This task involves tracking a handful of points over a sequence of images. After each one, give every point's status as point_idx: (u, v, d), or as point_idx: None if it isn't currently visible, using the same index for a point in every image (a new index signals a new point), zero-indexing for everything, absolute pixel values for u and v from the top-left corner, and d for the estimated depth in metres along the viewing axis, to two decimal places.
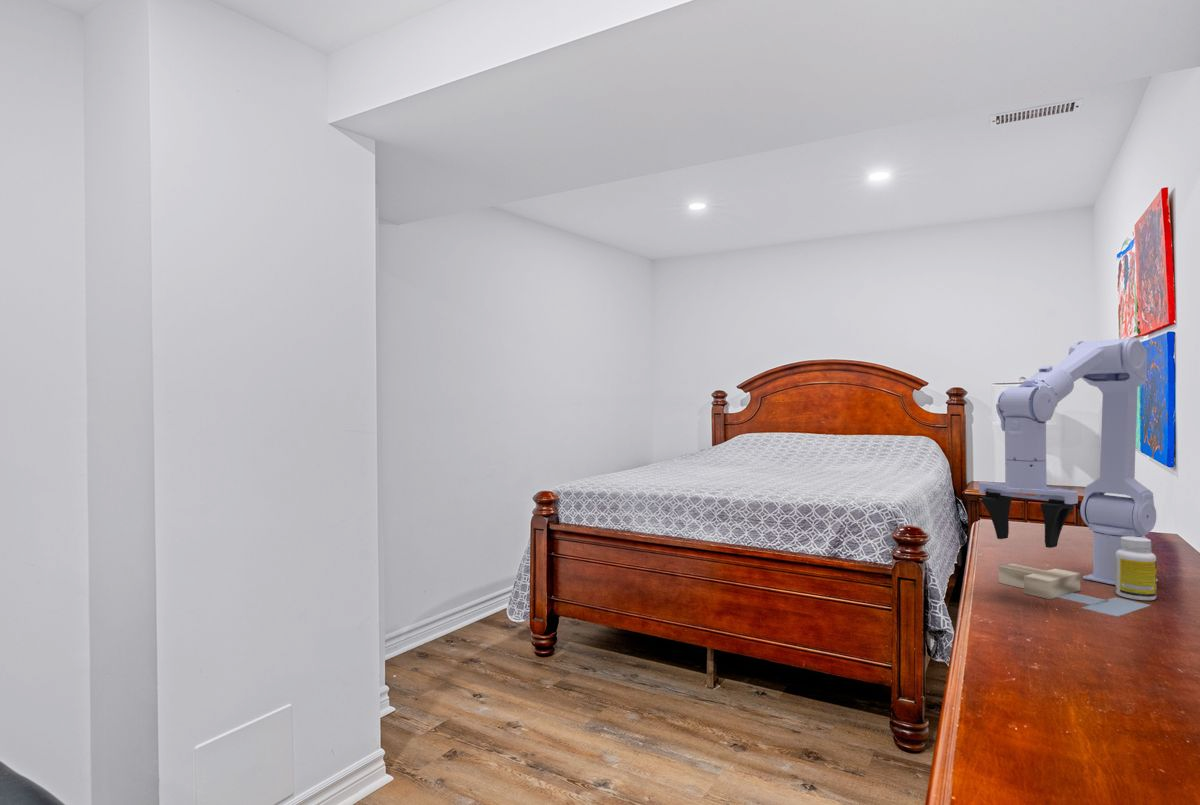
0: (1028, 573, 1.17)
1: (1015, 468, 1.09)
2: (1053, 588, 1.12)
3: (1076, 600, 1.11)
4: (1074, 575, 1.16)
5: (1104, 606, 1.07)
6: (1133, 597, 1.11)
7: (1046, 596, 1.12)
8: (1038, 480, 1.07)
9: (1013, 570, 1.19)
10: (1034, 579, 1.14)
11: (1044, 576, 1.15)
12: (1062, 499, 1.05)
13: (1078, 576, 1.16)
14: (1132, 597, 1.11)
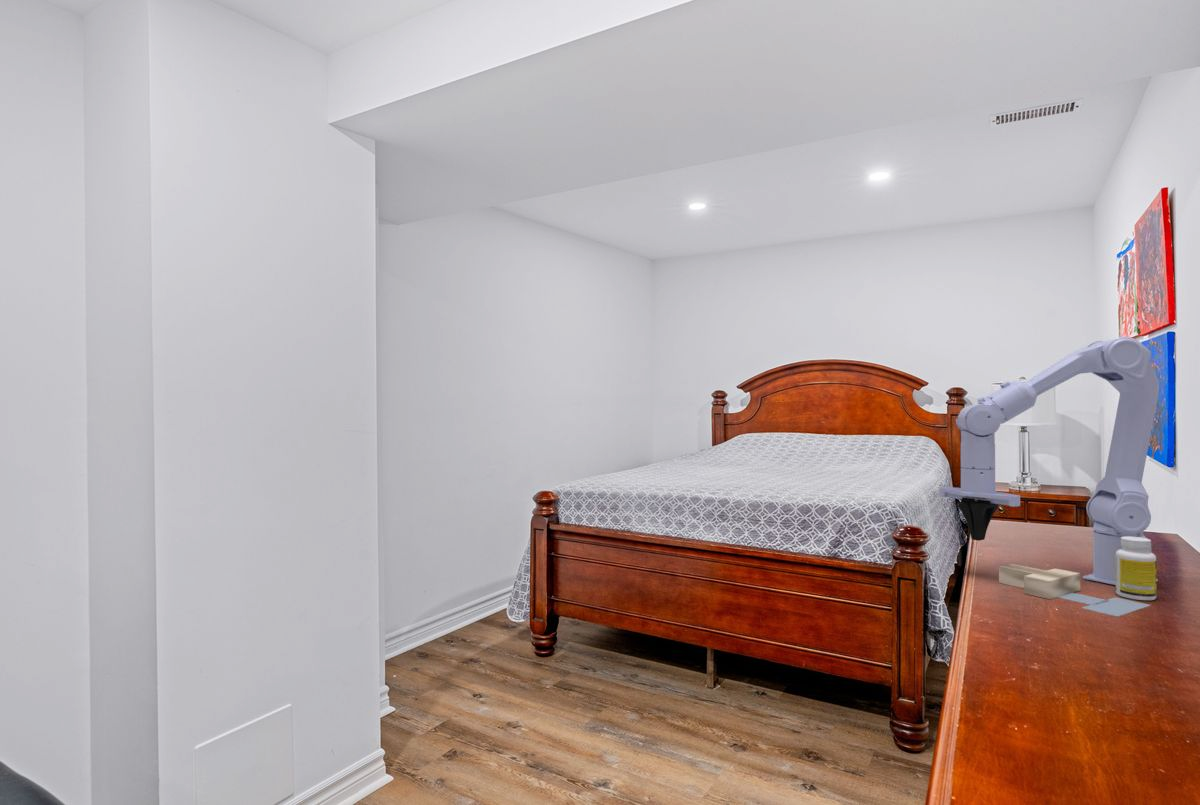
0: (1028, 573, 1.17)
1: (968, 475, 1.26)
2: (1053, 588, 1.12)
3: (1076, 600, 1.11)
4: (1074, 575, 1.16)
5: (1104, 606, 1.07)
6: (1133, 597, 1.11)
7: (1046, 596, 1.12)
8: (987, 486, 1.24)
9: (1013, 570, 1.19)
10: (1034, 579, 1.14)
11: (1044, 576, 1.15)
12: (1007, 502, 1.22)
13: (1078, 576, 1.16)
14: (1132, 597, 1.11)
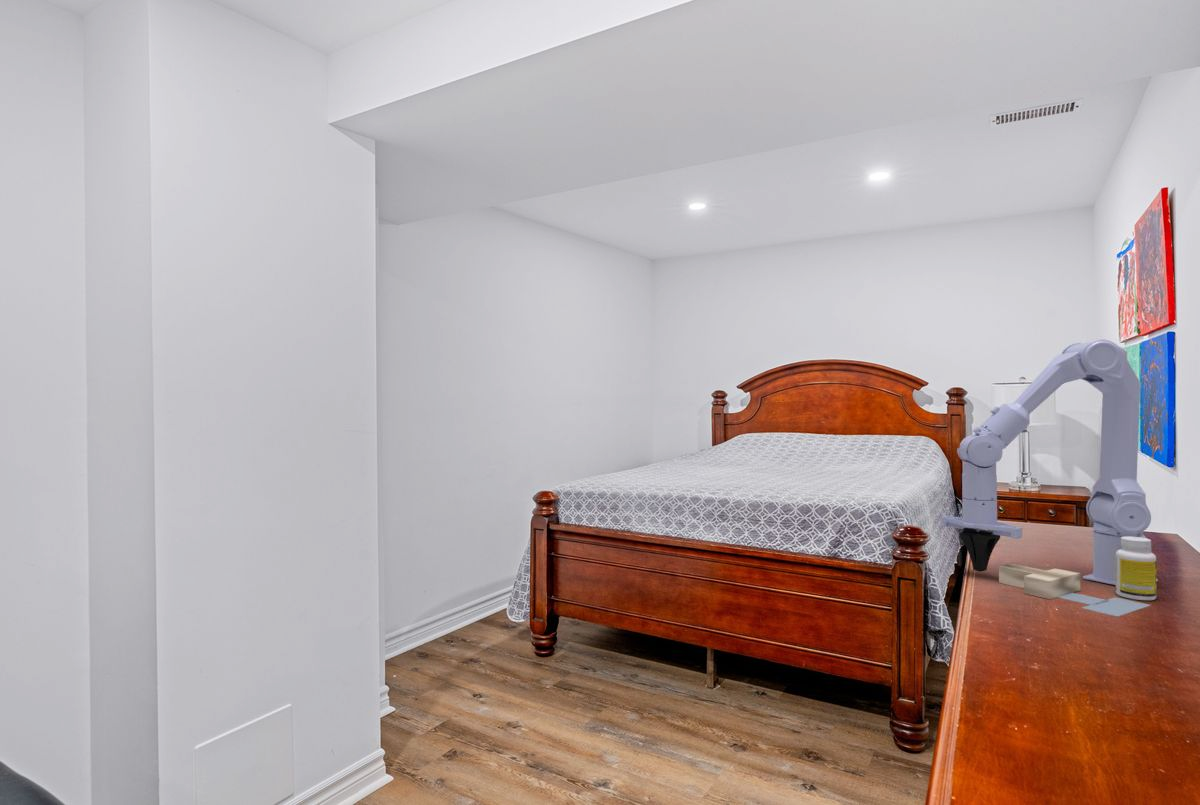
0: (1028, 573, 1.17)
1: (970, 506, 1.25)
2: (1053, 588, 1.12)
3: (1076, 600, 1.11)
4: (1074, 575, 1.16)
5: (1104, 606, 1.07)
6: (1133, 597, 1.11)
7: (1046, 596, 1.12)
8: (989, 517, 1.24)
9: (1013, 570, 1.19)
10: (1034, 579, 1.14)
11: (1044, 576, 1.15)
12: (1009, 534, 1.22)
13: (1078, 576, 1.16)
14: (1132, 597, 1.11)
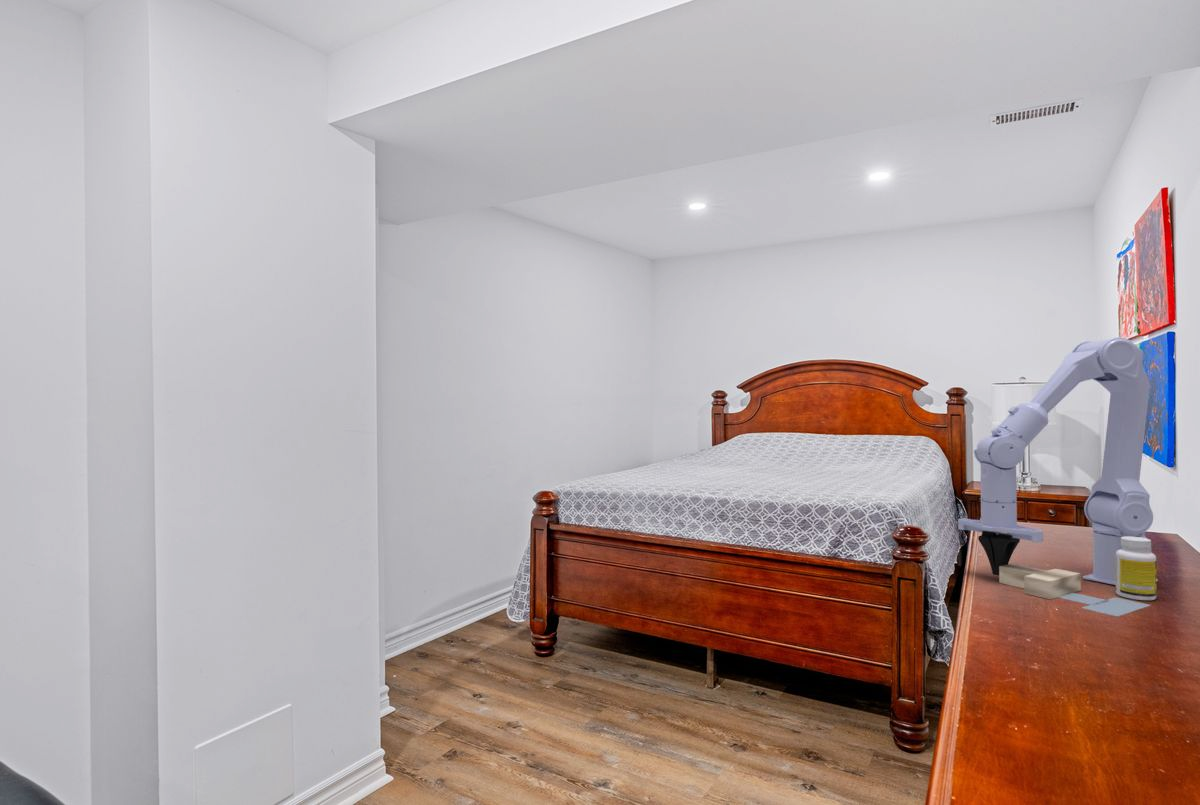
0: (1028, 573, 1.17)
1: (989, 509, 1.22)
2: (1054, 588, 1.12)
3: (1076, 600, 1.11)
4: (1074, 575, 1.15)
5: (1104, 606, 1.07)
6: (1133, 597, 1.11)
7: (1046, 596, 1.12)
8: (1008, 520, 1.21)
9: (1013, 570, 1.19)
10: (1034, 579, 1.13)
11: (1044, 576, 1.14)
12: (1029, 537, 1.19)
13: (1078, 576, 1.16)
14: (1132, 597, 1.11)
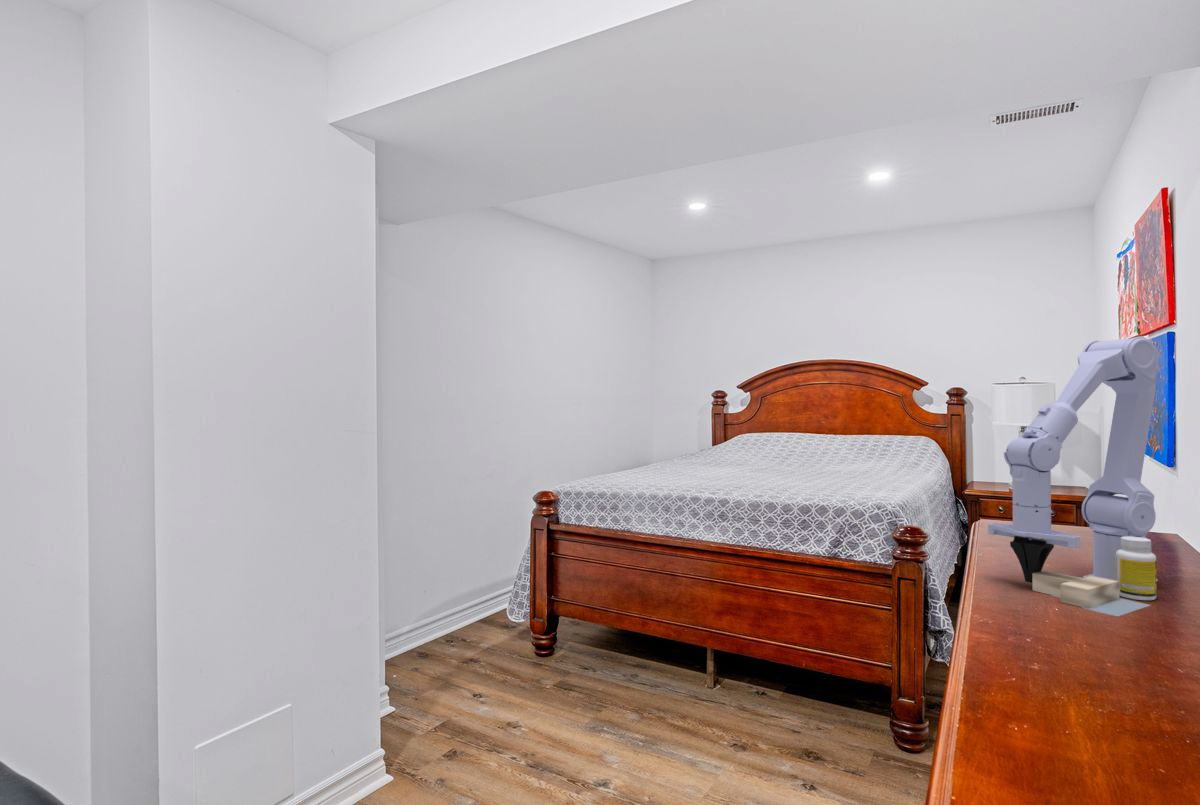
0: (1064, 581, 1.12)
1: (1021, 513, 1.17)
2: (1092, 597, 1.07)
3: None
4: (1113, 583, 1.10)
5: (1104, 606, 1.07)
6: (1133, 597, 1.11)
7: (1085, 605, 1.07)
8: (1043, 525, 1.16)
9: (1048, 577, 1.14)
10: (1071, 587, 1.08)
11: (1082, 584, 1.09)
12: (1065, 543, 1.13)
13: (1117, 584, 1.11)
14: (1132, 597, 1.11)
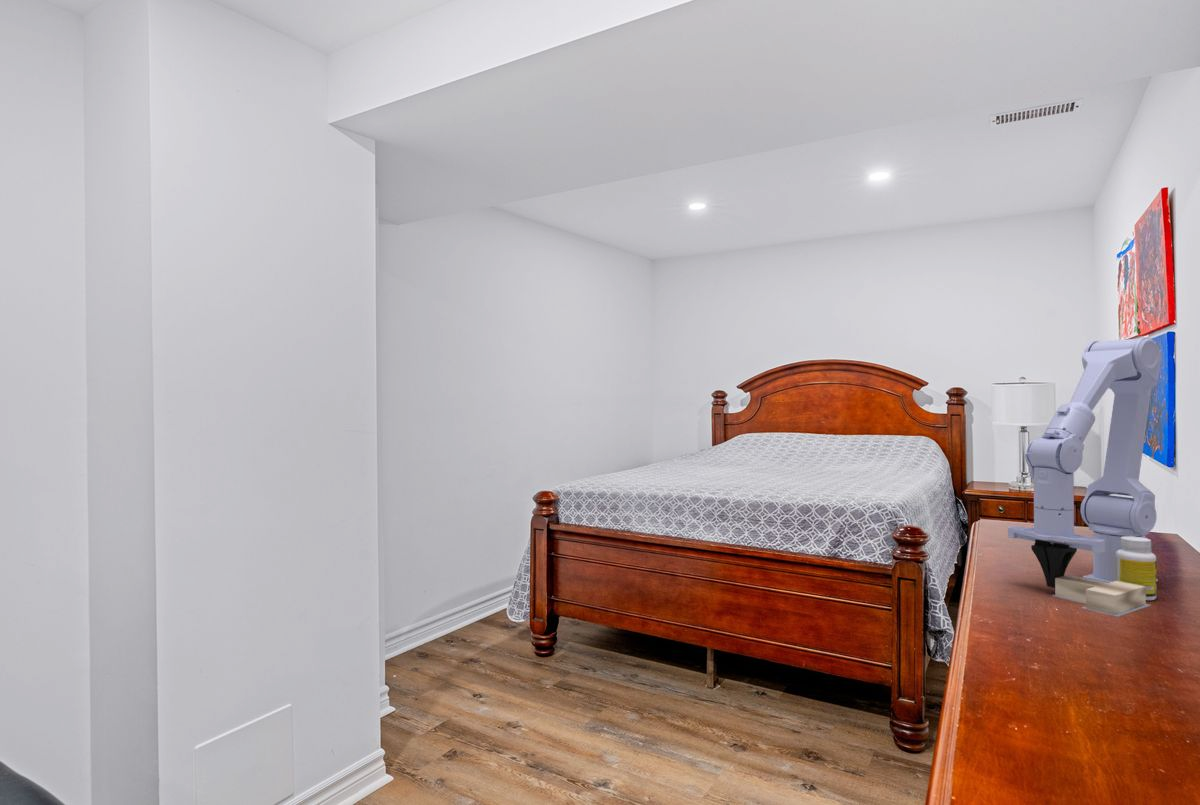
0: (1089, 586, 1.09)
1: (1044, 516, 1.14)
2: (1119, 603, 1.04)
3: None
4: (1139, 588, 1.07)
5: None
6: None
7: (1111, 612, 1.04)
8: (1066, 528, 1.13)
9: (1071, 582, 1.11)
10: (1097, 593, 1.05)
11: (1108, 590, 1.06)
12: (1089, 547, 1.10)
13: (1143, 589, 1.08)
14: None
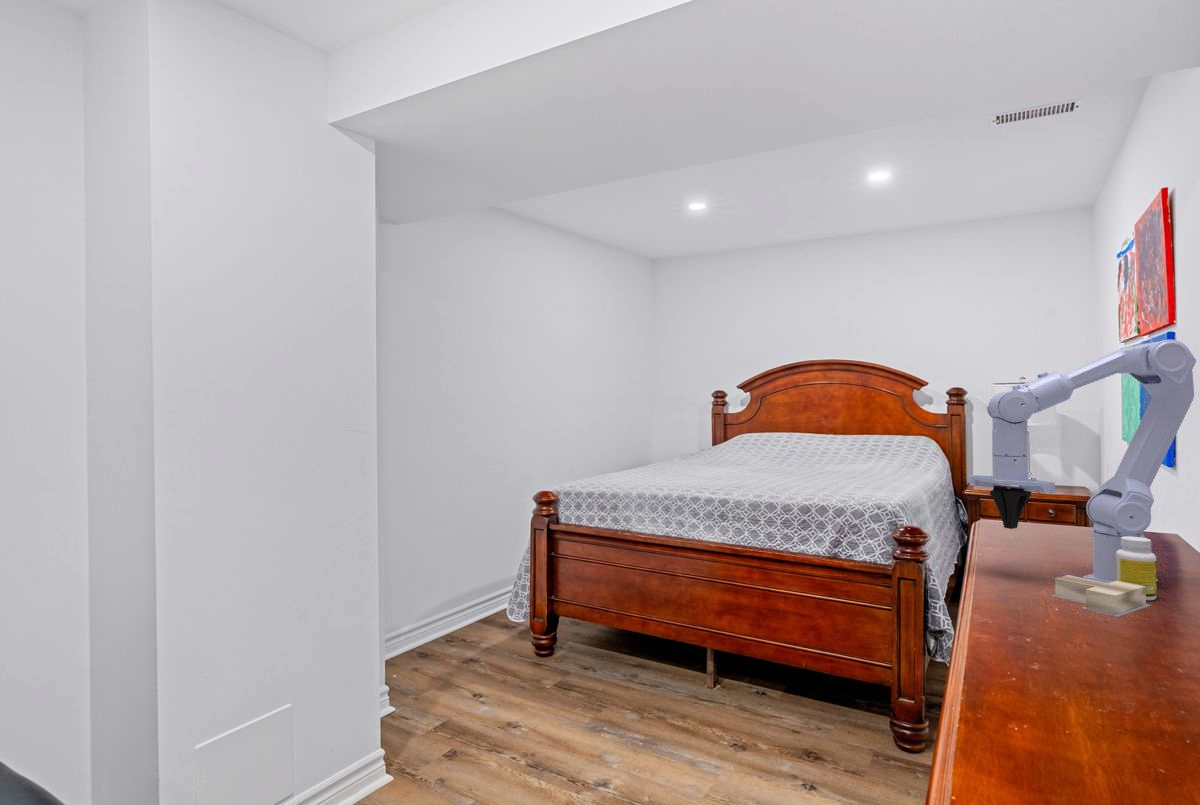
0: (1089, 586, 1.09)
1: (1001, 463, 1.24)
2: (1119, 603, 1.04)
3: None
4: (1139, 588, 1.07)
5: None
6: None
7: (1111, 612, 1.04)
8: (1020, 473, 1.23)
9: (1072, 582, 1.11)
10: (1097, 593, 1.05)
11: (1108, 590, 1.06)
12: (1041, 489, 1.20)
13: (1143, 589, 1.08)
14: None
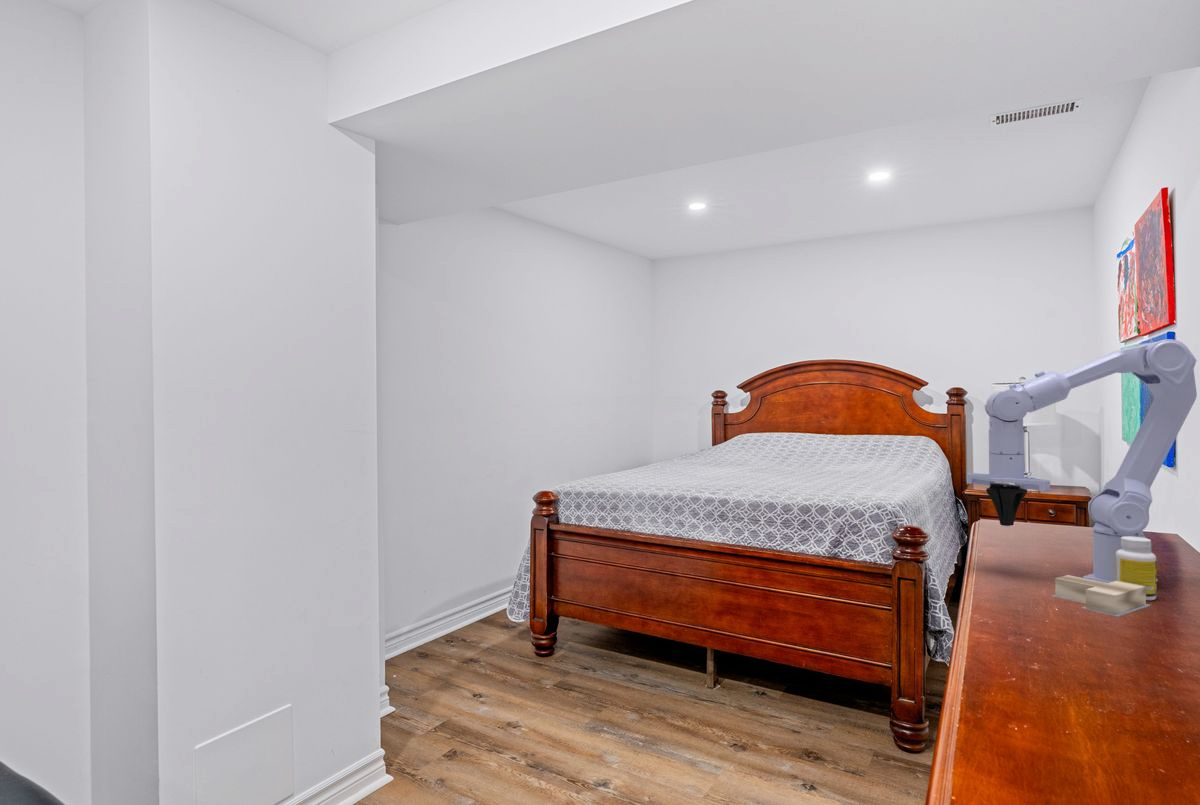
0: (1089, 586, 1.09)
1: (997, 461, 1.26)
2: (1119, 603, 1.04)
3: None
4: (1139, 588, 1.07)
5: None
6: None
7: (1111, 612, 1.04)
8: (1016, 471, 1.24)
9: (1072, 582, 1.11)
10: (1097, 593, 1.05)
11: (1108, 590, 1.06)
12: (1037, 487, 1.22)
13: (1143, 589, 1.08)
14: None
